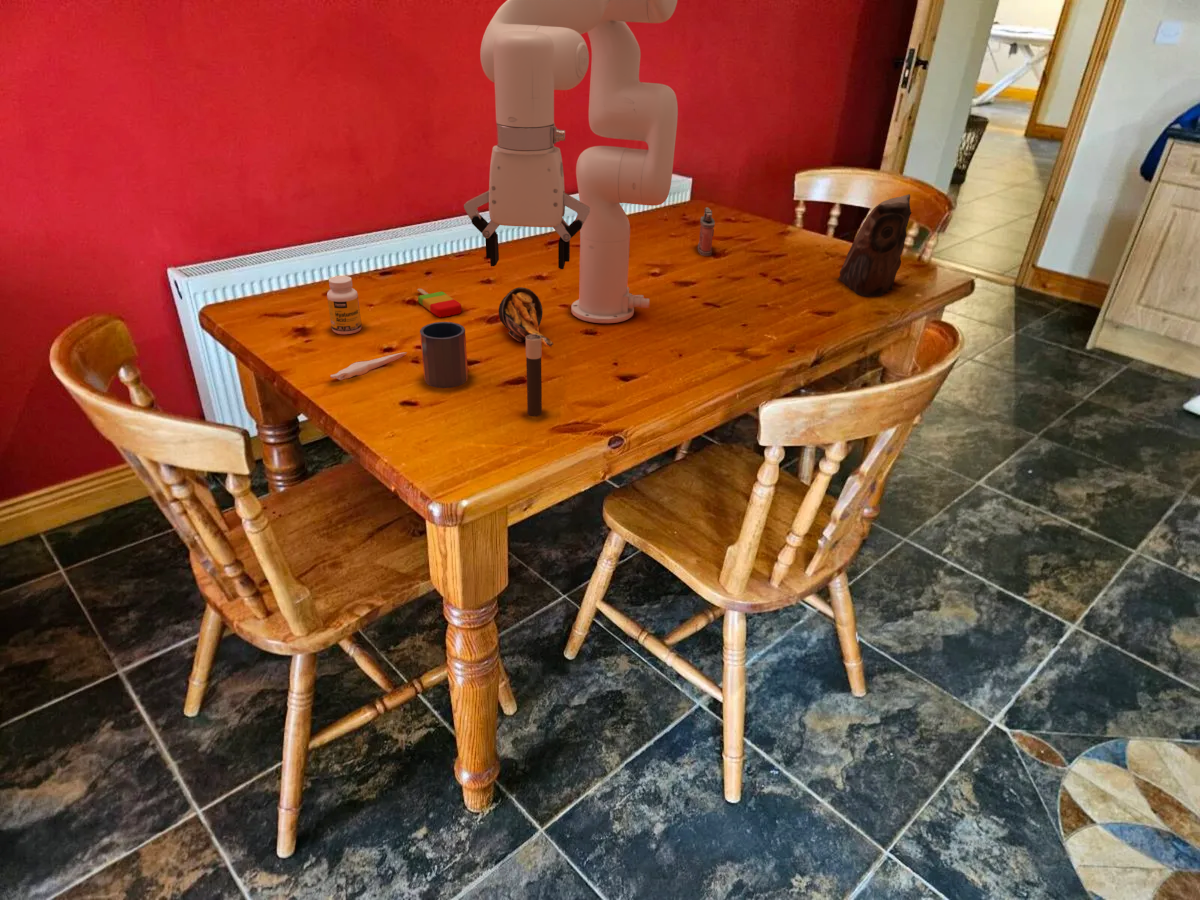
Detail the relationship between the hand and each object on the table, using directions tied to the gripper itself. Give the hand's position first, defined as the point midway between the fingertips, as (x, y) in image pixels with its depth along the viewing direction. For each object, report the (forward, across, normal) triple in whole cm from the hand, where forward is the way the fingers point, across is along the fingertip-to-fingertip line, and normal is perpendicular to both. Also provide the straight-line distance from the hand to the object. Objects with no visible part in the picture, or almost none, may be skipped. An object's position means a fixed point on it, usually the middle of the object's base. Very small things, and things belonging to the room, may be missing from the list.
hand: (528, 264), depth 113 cm
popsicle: (+23, +25, -41) cm, 53 cm away
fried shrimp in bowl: (+23, +4, -24) cm, 34 cm away
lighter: (+24, -33, -85) cm, 94 cm away
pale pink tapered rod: (+23, +28, -9) cm, 37 cm away
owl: (+24, -67, -64) cm, 96 cm away
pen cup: (+23, +15, -7) cm, 28 cm away
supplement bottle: (+23, +38, -26) cm, 51 cm away
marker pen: (+23, -1, +4) cm, 23 cm away
